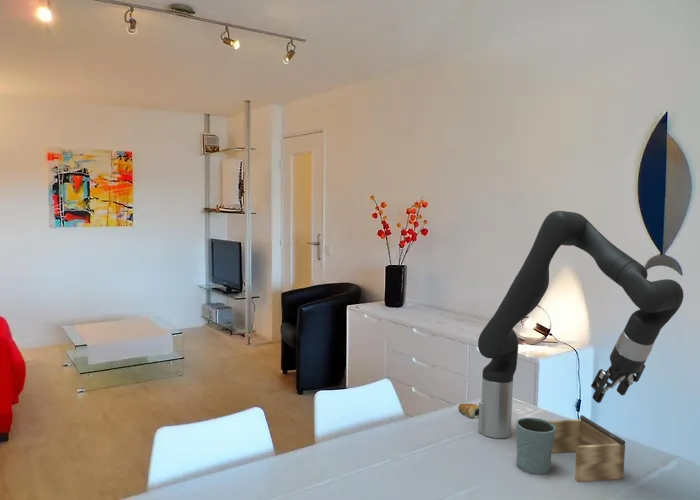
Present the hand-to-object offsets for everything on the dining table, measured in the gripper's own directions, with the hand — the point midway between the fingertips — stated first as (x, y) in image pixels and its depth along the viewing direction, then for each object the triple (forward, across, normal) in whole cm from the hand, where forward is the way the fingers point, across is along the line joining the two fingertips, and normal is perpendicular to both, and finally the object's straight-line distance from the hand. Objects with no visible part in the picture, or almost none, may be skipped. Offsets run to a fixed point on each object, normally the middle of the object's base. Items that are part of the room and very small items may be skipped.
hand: (608, 396), depth 147 cm
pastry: (+42, +8, -35) cm, 56 cm away
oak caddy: (+22, +3, +3) cm, 23 cm away
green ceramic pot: (+23, +16, 0) cm, 28 cm away
